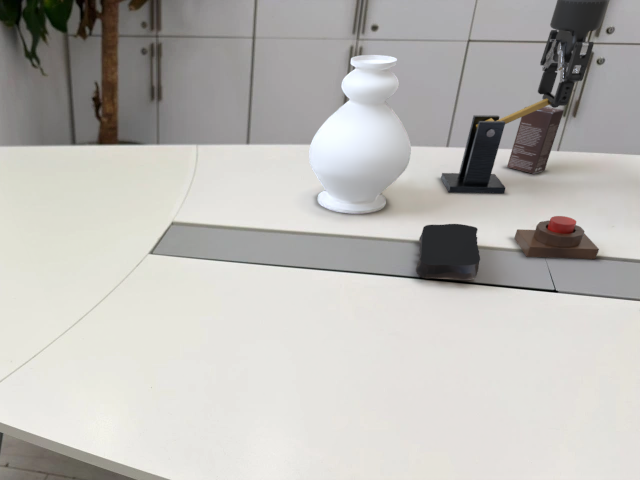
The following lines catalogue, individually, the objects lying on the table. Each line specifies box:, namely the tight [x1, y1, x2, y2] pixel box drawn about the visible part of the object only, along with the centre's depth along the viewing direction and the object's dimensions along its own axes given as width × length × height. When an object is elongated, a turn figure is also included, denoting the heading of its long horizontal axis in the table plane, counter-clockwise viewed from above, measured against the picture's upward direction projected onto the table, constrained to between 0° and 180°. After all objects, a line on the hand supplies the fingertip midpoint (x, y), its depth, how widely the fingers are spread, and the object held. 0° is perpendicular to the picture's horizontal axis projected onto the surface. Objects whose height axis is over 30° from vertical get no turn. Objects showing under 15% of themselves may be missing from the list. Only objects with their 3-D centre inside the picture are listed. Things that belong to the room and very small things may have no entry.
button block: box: [514, 220, 600, 260], centre depth 108 cm, size 10×7×4 cm
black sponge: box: [415, 223, 481, 281], centre depth 105 cm, size 16×8×4 cm, turn 159°
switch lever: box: [476, 92, 559, 128], centre depth 124 cm, size 13×5×2 cm, turn 79°
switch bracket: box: [440, 114, 506, 195], centre depth 129 cm, size 10×8×13 cm
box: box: [507, 106, 565, 175], centre depth 136 cm, size 6×4×12 cm
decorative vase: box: [308, 54, 412, 215], centre depth 122 cm, size 18×18×25 cm
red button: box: [547, 215, 577, 234], centre depth 107 cm, size 4×4×2 cm
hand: (551, 99), depth 122 cm, fingers open, 8 cm apart
